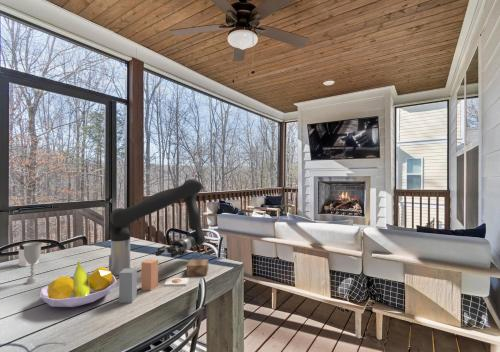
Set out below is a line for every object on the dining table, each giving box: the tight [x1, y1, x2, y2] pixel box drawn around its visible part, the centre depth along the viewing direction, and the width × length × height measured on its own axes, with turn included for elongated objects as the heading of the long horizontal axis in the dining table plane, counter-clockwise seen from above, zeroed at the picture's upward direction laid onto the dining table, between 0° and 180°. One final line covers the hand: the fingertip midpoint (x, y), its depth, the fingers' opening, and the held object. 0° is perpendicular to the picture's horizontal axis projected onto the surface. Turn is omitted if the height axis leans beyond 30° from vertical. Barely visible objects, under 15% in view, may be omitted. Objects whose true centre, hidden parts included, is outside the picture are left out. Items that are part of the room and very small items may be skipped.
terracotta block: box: [140, 258, 159, 292], centre depth 122 cm, size 5×5×12 cm
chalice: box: [23, 241, 43, 285], centre depth 128 cm, size 7×7×18 cm
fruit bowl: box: [39, 261, 118, 308], centre depth 112 cm, size 28×27×11 cm
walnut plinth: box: [186, 258, 209, 277], centre depth 142 cm, size 10×10×5 cm
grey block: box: [118, 267, 138, 304], centre depth 110 cm, size 5×5×12 cm
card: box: [163, 277, 190, 287], centre depth 128 cm, size 10×7×1 cm
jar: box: [18, 240, 40, 268], centre depth 154 cm, size 9×8×12 cm
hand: (163, 254), depth 132 cm, fingers open, 8 cm apart
